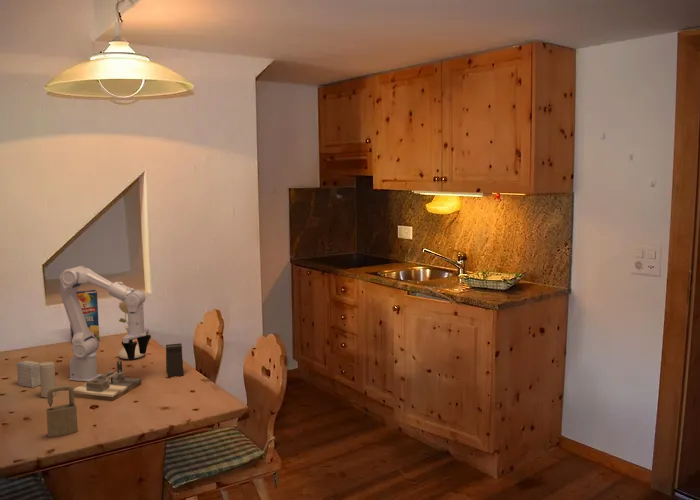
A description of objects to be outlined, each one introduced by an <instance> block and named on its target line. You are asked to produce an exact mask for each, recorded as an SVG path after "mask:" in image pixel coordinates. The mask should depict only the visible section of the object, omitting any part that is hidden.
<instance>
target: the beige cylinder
mask: <svg viewBox="0 0 700 500" xmlns="http://www.w3.org/2000/svg"><path fill="white" fill-rule="evenodd" d="M40 363H41V364H40V382H41V385H40V395H41V397H42V398H45V399H46V398H47V393H48V390H49V389H50V388H53V387H57V386H56V371H55V369H56V367H55V362H54V361H45V362H40ZM56 394H57V391H56V392H53V393H52V395H53V397H55V396H56Z"/></svg>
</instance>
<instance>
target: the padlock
mask: <svg viewBox="0 0 700 500" xmlns="http://www.w3.org/2000/svg"><path fill="white" fill-rule="evenodd" d="M74 389H75V388H74V386H73V385H71V384H64V385H59V386H56V387H53V388H50V389H49V390H48V393H47V404H48V405H49V407H48V408H46V425H47V427H46V428H47V436H48V438H51V437H53V438H55V437H61V436H65V435H71V434H73V433H77V432H78V430H79V429H78V427H79V425H78V413H77V411H78V410H77V404H76V403H75V397H74ZM61 391H68V400H69V401H68V402H69V403H66V404H61V405H55V406H52V405H53V403H54V402H53V401H54V400H53V399H54V398H53V397H54V396H53V395H52V393H53V392H56V393H57V392H61Z"/></svg>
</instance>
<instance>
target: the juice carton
mask: <svg viewBox="0 0 700 500" xmlns="http://www.w3.org/2000/svg"><path fill="white" fill-rule="evenodd" d="M76 294H77V297H78V300H79V303H80V306H81V309H82V312H83V315H84V318H85V321H86V324H87V327H88V330H89V331H91V332H93V334H94V336H95V338H96V339H97V340H98V342H99V343H100V330H99V329H100V327H99V325H100V323H99V306H98V305H99V304H98V292H97V290H96V289H88V290H79V291H78V290H77V291H76ZM69 327H70V329H69V330H70V342H71V343H72V339H73V336H74V333H73V330H72V327H71V324H70V323H69Z"/></svg>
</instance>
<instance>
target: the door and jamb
mask: <svg viewBox="0 0 700 500" xmlns="http://www.w3.org/2000/svg"><path fill="white" fill-rule="evenodd" d="M113 373H115V371H114V370H113V371H112V370H110V371H108V372H106V373H104V374H102V375H101V376H99V377H97V378H95V379H93V380H91V381H89V382H85V383H83V384H82V385H80V386H77V387H75V388H73V389H74V398H78V399H87V400H97V401H107V402H113V401H115V400H117V399H118V398H120V397H122V396H124V395H126V394H127V393H129V392H131V391H132V390H134V389H136V388H138V387H139V386H141V385H142V378H141V377H130V376H125V371H124V372H120V373H118V374H116V375H114V376H112V377H113V382H111V383H109V380H106V377H107V376H109V375H111V374H113Z"/></svg>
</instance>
